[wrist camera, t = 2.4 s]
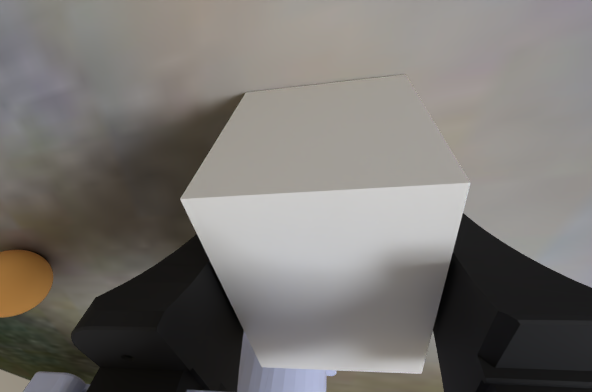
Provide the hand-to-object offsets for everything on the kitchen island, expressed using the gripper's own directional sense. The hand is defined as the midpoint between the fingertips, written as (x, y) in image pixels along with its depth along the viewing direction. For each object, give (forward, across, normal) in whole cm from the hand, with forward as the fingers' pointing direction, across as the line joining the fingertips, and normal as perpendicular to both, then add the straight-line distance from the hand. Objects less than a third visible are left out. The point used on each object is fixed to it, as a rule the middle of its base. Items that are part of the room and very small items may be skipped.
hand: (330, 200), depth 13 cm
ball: (0, +20, +5) cm, 21 cm away
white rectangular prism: (+2, 0, 0) cm, 2 cm away
